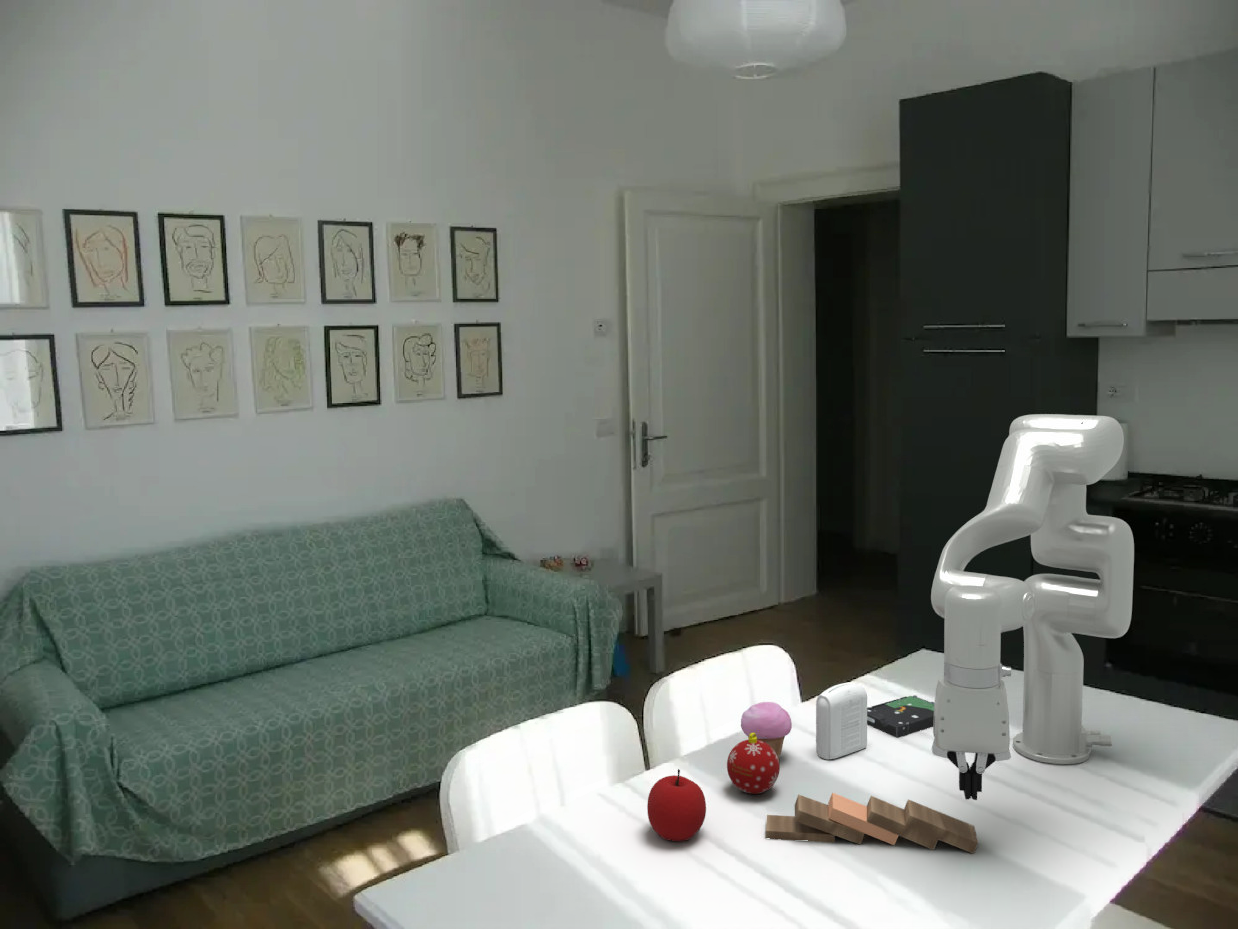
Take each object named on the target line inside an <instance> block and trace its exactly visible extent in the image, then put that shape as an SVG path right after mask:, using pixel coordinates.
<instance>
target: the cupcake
mask: <svg viewBox="0 0 1238 929" xmlns="http://www.w3.org/2000/svg"><path fill="white" fill-rule="evenodd" d="M792 724H793V723H792V718H791V716H790V714H789V712H788V711H787V710H786V709H784V708H783V707H782V706H781V705H780V704H779V703H777V702H773V701H762V702H758V703H756V704H755V703H754V704H753V705H750V707H749V708H748V709H746V710H745V711H743V712H742V715H741V719H740V728H741V730H742V732H743V733H744V735H745V736H746V737H747V738H748V739H749V735H750V733H755V734H756V737H757V740H760V741H763V742H765V743H767V744H768V745H769V746H770V747H771V748H772V749H773V750H774V751H775V753H776V755H777V757H778V760H779V759H780V757H781V754H782V750H783V746H784V740H785V737H786V736H788V735H789V734H790V733H791V731H792V728H793V727H792V726H793V725H792ZM752 736H754V734H753V735H752Z"/></svg>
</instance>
